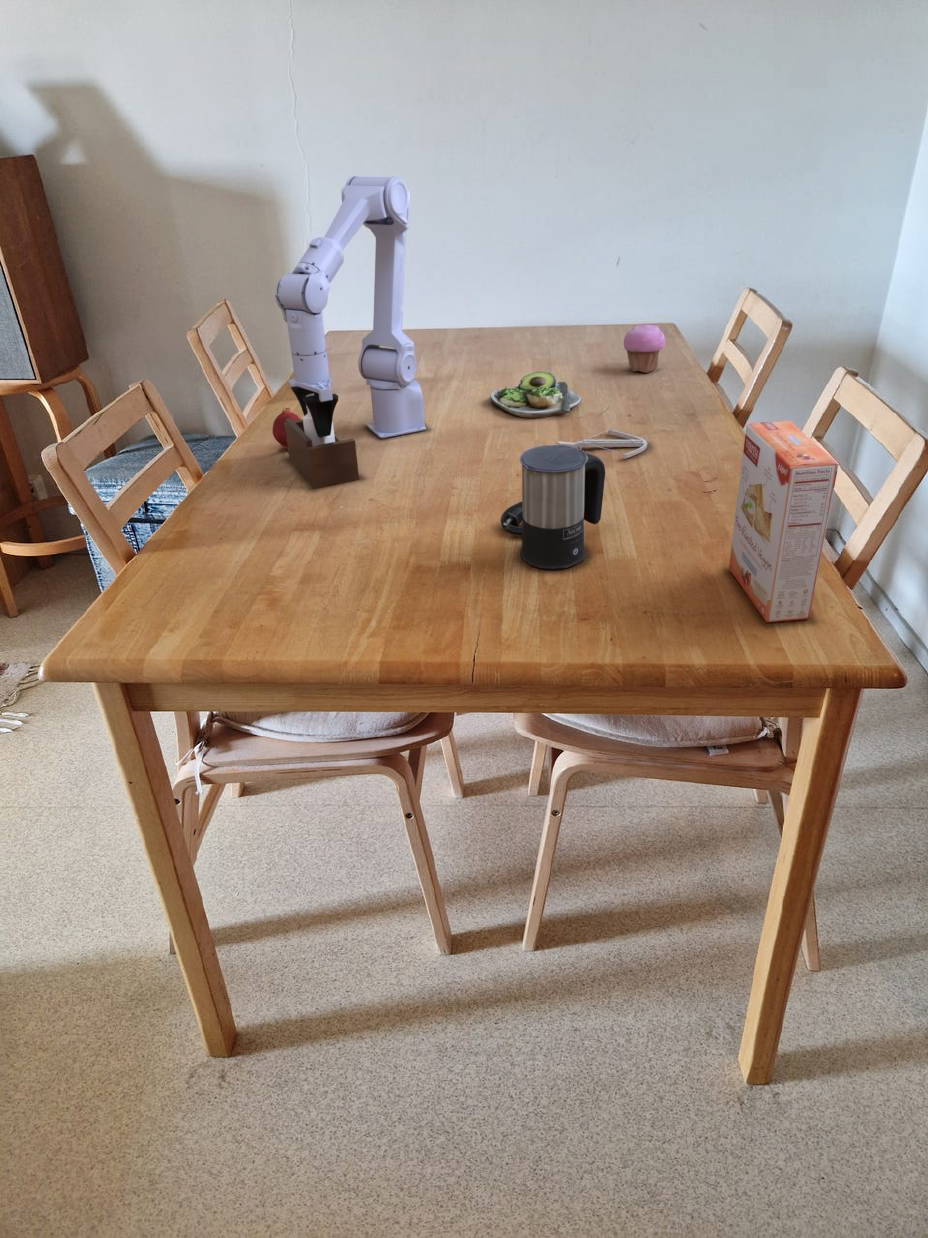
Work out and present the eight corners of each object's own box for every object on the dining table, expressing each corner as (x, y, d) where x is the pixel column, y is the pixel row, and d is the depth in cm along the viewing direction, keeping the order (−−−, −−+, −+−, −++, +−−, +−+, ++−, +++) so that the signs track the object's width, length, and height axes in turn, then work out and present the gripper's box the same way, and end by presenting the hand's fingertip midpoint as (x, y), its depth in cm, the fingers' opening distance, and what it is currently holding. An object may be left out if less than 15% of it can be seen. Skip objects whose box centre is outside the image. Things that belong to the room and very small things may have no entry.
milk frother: (566, 577, 121) (569, 474, 113) (467, 551, 129) (464, 454, 121) (610, 535, 131) (615, 439, 124) (516, 514, 139) (515, 421, 131)
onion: (300, 455, 163) (294, 413, 159) (270, 454, 164) (264, 412, 160) (311, 444, 168) (305, 402, 164) (282, 443, 169) (276, 401, 165)
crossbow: (637, 437, 167) (638, 426, 166) (654, 463, 156) (655, 451, 155) (552, 437, 165) (553, 426, 164) (563, 463, 155) (564, 451, 154)
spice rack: (331, 451, 164) (326, 409, 160) (359, 479, 153) (354, 434, 149) (289, 459, 162) (283, 417, 157) (314, 488, 150) (308, 443, 146)
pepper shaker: (337, 446, 156) (330, 393, 151) (326, 454, 153) (319, 400, 148) (316, 444, 157) (309, 391, 152) (306, 452, 154) (298, 398, 149)
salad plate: (603, 412, 177) (604, 389, 174) (522, 427, 171) (522, 404, 169) (557, 386, 192) (557, 364, 190) (481, 399, 186) (480, 377, 184)
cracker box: (724, 570, 121) (744, 421, 110) (768, 566, 122) (792, 418, 110) (763, 625, 109) (789, 464, 98) (811, 621, 110) (842, 460, 99)
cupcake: (668, 368, 200) (672, 322, 195) (653, 378, 194) (657, 331, 189) (631, 363, 204) (634, 318, 199) (615, 373, 198) (618, 327, 193)
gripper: (273, 344, 151) (285, 422, 158) (297, 365, 139) (309, 448, 146) (313, 338, 153) (323, 415, 160) (340, 358, 142) (349, 440, 149)
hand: (319, 430), depth 154 cm, fingers closed on pepper shaker, 5 cm apart
